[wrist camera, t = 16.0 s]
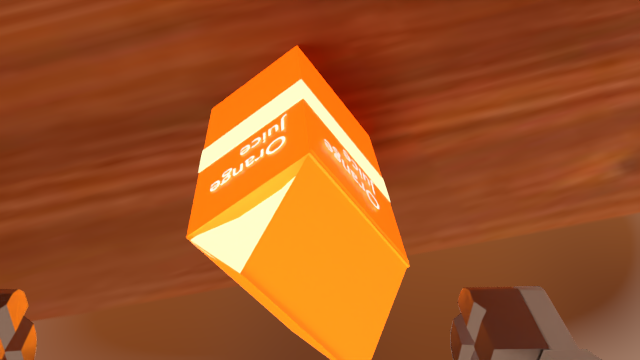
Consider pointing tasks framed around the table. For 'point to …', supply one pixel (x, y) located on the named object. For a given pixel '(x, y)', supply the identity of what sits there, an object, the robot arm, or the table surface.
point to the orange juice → (300, 209)
